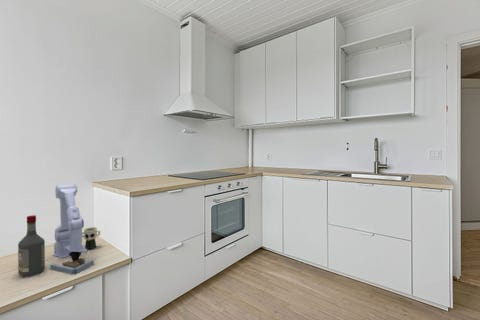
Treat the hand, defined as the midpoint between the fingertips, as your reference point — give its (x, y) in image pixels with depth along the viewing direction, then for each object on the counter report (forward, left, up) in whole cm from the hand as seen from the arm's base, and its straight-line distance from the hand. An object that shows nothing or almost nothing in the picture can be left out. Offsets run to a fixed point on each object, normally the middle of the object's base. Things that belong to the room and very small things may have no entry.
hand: (75, 264), depth 129 cm
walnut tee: (+2, -1, -1) cm, 3 cm away
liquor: (-15, -13, -1) cm, 19 cm away
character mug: (-14, +20, -1) cm, 25 cm away
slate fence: (-1, -1, -1) cm, 2 cm away
